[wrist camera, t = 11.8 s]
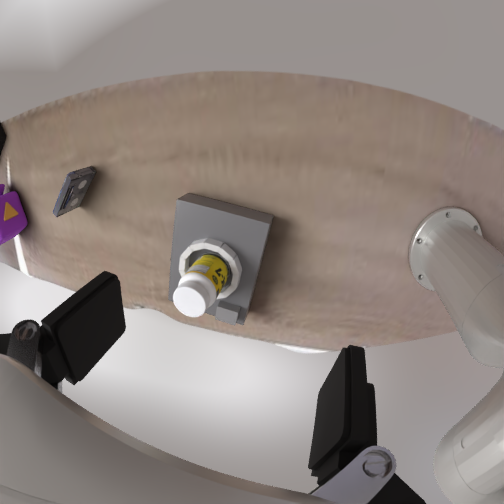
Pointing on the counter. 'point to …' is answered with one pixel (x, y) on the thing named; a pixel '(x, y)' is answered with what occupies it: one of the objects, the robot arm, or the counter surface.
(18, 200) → the toy camera
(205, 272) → the supplement bottle
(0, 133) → the battery charger
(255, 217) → the grey ring holder base
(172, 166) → the counter surface
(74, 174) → the mini dv tape
